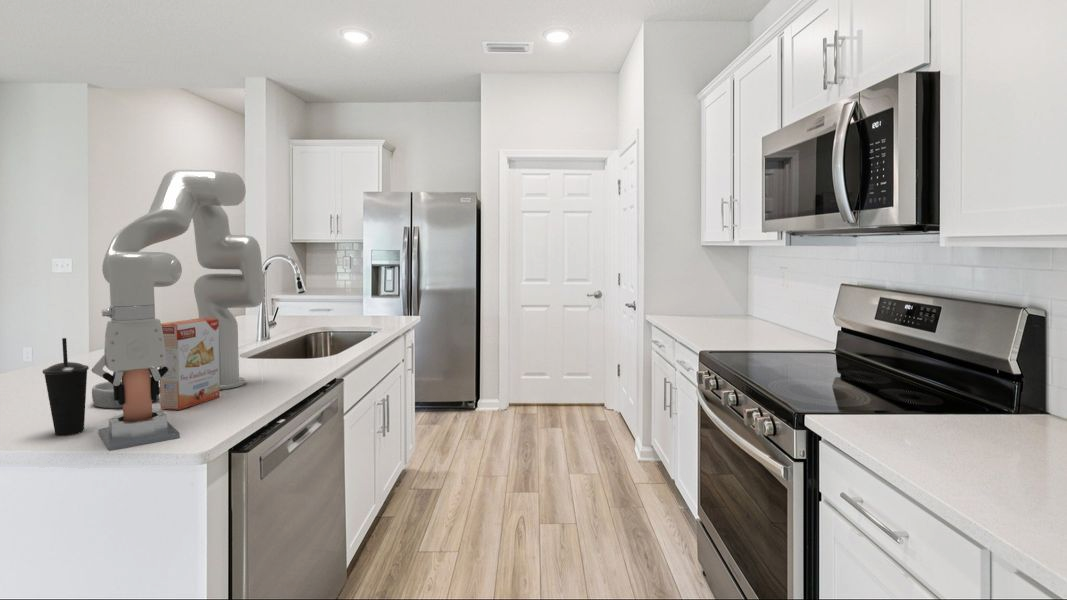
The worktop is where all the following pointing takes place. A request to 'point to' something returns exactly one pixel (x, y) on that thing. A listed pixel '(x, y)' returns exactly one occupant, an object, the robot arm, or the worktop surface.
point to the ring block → (137, 431)
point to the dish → (106, 395)
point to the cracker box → (191, 363)
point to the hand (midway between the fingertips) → (137, 400)
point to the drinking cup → (67, 394)
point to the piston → (137, 395)
